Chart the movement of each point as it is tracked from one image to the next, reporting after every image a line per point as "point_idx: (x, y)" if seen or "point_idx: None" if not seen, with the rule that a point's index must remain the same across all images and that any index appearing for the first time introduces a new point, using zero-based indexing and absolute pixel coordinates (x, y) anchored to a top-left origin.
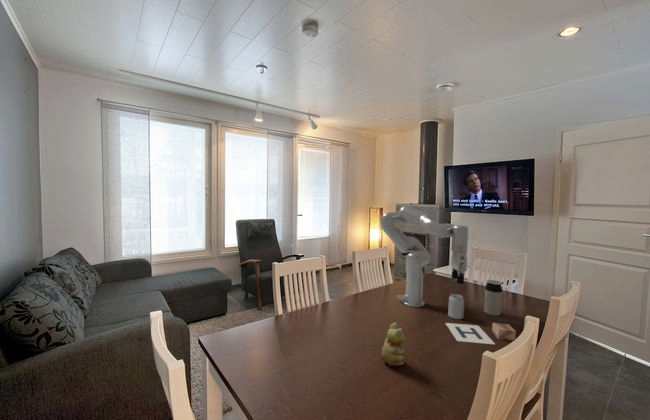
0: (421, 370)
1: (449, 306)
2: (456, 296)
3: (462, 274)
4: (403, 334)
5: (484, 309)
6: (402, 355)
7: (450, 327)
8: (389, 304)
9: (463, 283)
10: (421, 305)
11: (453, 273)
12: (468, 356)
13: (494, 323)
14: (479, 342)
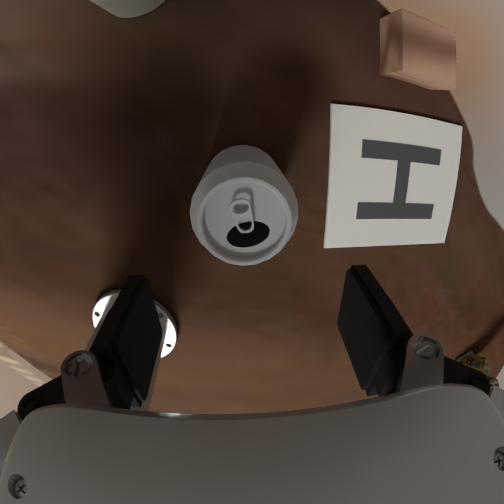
0: (489, 325)
1: (254, 236)
2: (238, 220)
3: (451, 381)
4: (492, 386)
5: (128, 14)
6: (486, 362)
7: (363, 237)
8: (184, 386)
9: (365, 266)
10: (162, 310)
11: (146, 378)
12: (490, 235)
13: (408, 67)
14: (455, 174)
